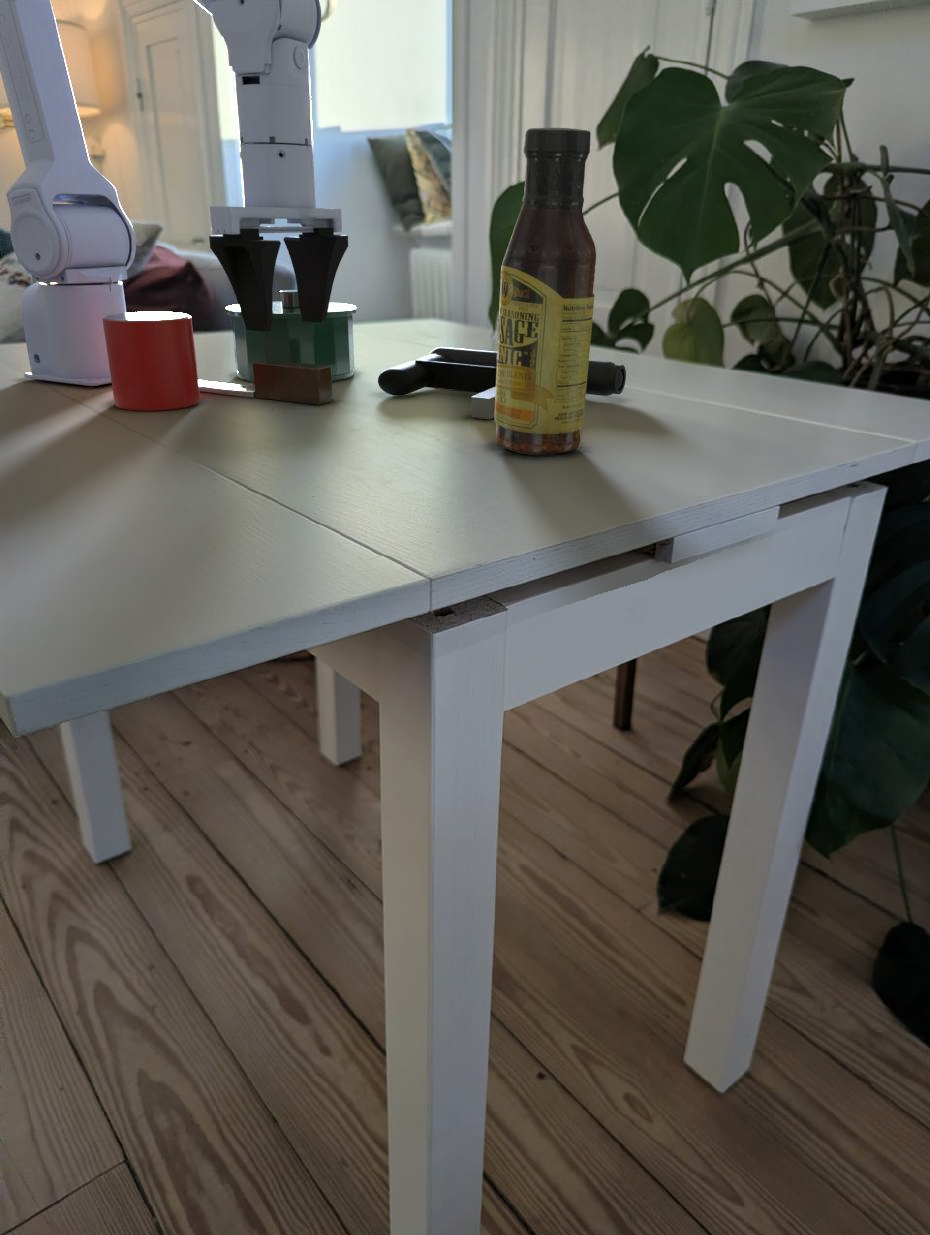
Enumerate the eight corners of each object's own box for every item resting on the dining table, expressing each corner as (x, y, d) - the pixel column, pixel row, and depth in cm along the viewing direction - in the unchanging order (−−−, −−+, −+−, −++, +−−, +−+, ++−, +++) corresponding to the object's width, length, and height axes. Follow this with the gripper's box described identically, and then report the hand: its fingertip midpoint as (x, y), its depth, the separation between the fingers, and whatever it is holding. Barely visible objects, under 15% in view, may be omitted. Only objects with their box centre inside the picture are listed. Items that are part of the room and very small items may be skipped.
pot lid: (199, 320, 87) (196, 292, 86) (281, 310, 98) (279, 284, 96) (305, 328, 82) (304, 298, 81) (380, 316, 92) (379, 289, 91)
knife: (176, 388, 84) (172, 355, 83) (194, 384, 86) (190, 352, 85) (318, 405, 77) (316, 369, 76) (334, 401, 79) (332, 365, 78)
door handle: (557, 396, 69) (633, 357, 81) (344, 373, 78) (441, 341, 90) (556, 439, 70) (630, 394, 83) (348, 411, 79) (443, 375, 92)
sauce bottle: (480, 441, 66) (486, 130, 58) (558, 435, 68) (574, 134, 60) (517, 462, 60) (528, 122, 52) (600, 455, 62) (624, 127, 54)
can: (96, 405, 76) (82, 317, 73) (157, 392, 82) (147, 310, 79) (158, 413, 73) (147, 322, 71) (217, 400, 79) (209, 314, 76)
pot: (212, 377, 90) (206, 314, 87) (285, 362, 99) (281, 304, 97) (308, 388, 85) (304, 321, 82) (375, 371, 94) (373, 310, 92)
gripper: (257, 138, 64) (271, 338, 70) (369, 151, 76) (373, 321, 81) (181, 140, 67) (200, 332, 73) (300, 152, 79) (309, 316, 84)
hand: (287, 326), depth 77 cm, fingers open, 7 cm apart
